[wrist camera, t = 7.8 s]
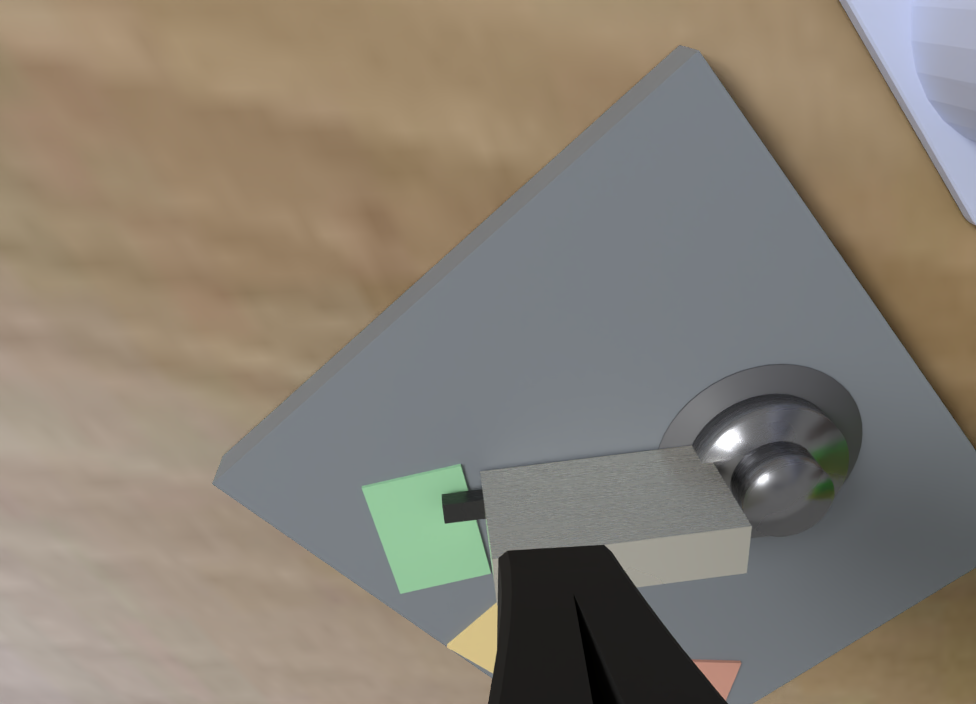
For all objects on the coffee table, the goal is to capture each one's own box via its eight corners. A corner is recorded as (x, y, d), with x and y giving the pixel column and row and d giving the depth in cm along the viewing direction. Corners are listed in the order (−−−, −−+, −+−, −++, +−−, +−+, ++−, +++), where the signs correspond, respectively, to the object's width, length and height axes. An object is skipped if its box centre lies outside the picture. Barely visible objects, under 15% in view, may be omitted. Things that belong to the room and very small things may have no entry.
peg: (843, 385, 19) (920, 458, 16) (823, 508, 21) (888, 594, 18) (433, 433, 18) (437, 519, 15) (450, 556, 20) (456, 651, 17)
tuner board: (679, 45, 16) (700, 50, 15) (1004, 507, 23) (1034, 535, 22) (223, 456, 20) (211, 486, 18) (624, 744, 27) (634, 779, 26)
